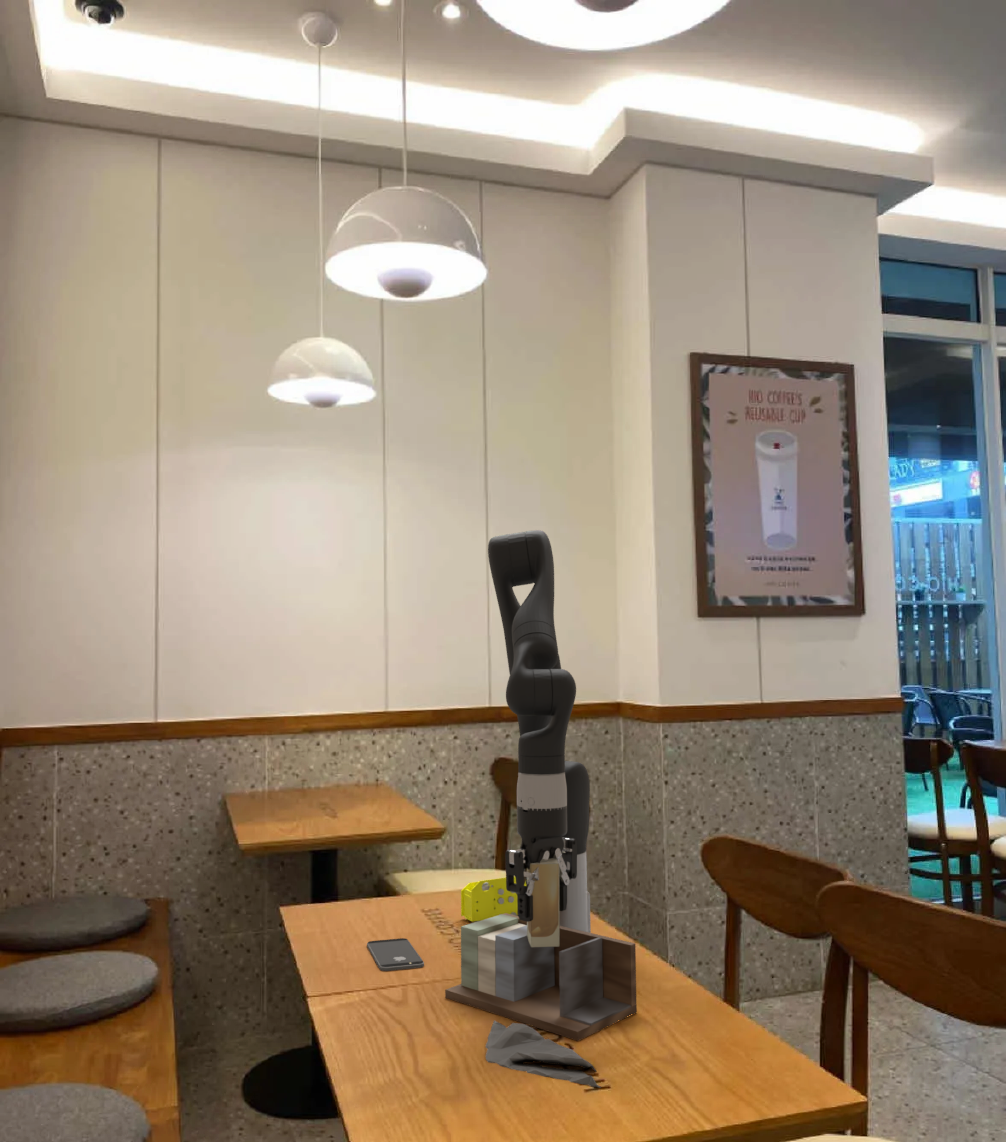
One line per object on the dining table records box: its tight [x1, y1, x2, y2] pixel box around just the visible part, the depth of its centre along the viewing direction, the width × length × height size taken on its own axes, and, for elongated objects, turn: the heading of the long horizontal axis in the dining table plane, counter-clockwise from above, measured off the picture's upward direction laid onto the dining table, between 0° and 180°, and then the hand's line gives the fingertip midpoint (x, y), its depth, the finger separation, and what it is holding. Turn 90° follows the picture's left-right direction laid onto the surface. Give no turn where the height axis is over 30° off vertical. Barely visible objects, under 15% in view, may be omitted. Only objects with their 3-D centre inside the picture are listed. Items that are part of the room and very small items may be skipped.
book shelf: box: [444, 913, 638, 1042], centre depth 153 cm, size 14×26×10 cm, turn 48°
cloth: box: [485, 1020, 602, 1089], centre depth 135 cm, size 26×14×2 cm, turn 19°
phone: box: [366, 937, 425, 972], centre depth 178 cm, size 8×1×16 cm
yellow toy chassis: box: [460, 876, 527, 923], centre depth 203 cm, size 16×6×8 cm, turn 118°
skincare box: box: [527, 858, 559, 947], centre depth 151 cm, size 6×4×12 cm
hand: (542, 915), depth 150 cm, fingers closed on skincare box, 7 cm apart
